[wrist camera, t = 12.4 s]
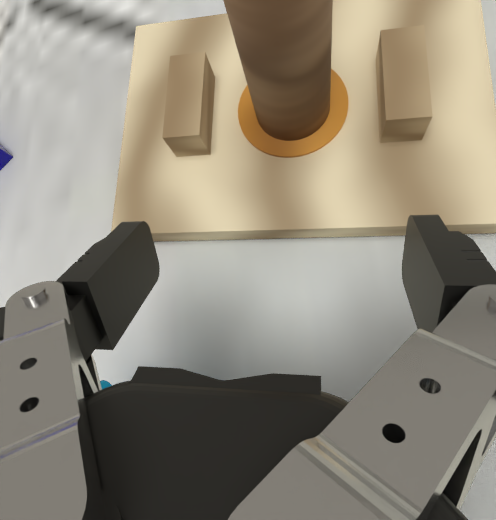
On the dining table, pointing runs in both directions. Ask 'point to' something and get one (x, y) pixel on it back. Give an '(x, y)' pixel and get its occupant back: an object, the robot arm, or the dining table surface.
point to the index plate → (323, 140)
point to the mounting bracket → (4, 156)
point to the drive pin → (285, 62)
